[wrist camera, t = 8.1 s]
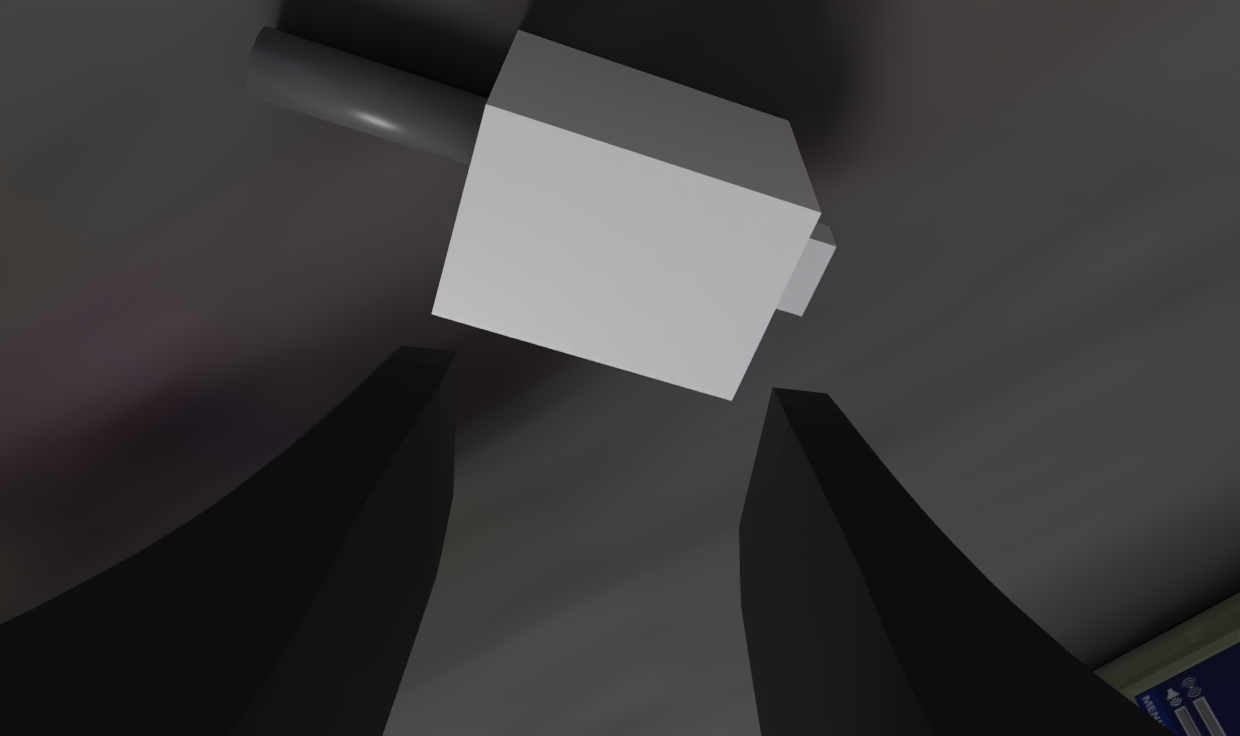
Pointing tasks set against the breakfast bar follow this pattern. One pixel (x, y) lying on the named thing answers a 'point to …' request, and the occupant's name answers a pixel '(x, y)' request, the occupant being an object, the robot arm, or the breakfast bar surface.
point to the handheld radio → (1187, 674)
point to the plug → (591, 202)
